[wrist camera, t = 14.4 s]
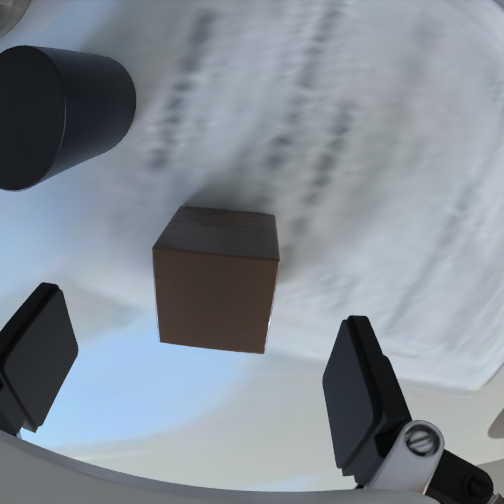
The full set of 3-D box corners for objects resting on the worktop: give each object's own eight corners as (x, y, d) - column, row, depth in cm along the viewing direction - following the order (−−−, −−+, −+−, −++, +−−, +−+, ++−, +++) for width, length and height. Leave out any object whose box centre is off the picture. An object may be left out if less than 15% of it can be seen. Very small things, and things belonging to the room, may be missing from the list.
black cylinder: (50, 156, 14) (-29, 192, 9) (52, 62, 12) (-32, 62, 6) (134, 156, 14) (68, 194, 9) (140, 51, 12) (71, 31, 6)
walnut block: (180, 286, 17) (158, 342, 13) (180, 205, 15) (151, 247, 11) (264, 295, 17) (264, 354, 13) (275, 215, 15) (280, 260, 11)
